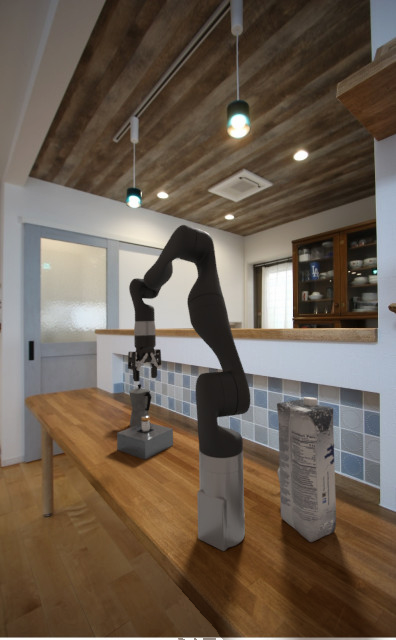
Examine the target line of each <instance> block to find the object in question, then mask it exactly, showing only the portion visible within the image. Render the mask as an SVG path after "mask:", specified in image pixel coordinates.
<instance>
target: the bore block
mask: <svg viewBox="0 0 396 640" xmlns="http://www.w3.org/2000/svg"><path fill="white" fill-rule="evenodd" d="M116 440H117V441H116V446H117V448H116V449H117V451H119V452H122V453H125V454H128V455H130V456H133V457H137V458H139V459H143V460H148V459H150V458H152V457H153V456H155V455H157V454H159V453H161V452H163V451H165V450H166V449H168V448H170V447H172V446H173V445H174V429H173V428H172V427H167V426H163V425H159V424H155V423H152V422H150V432H149V433H146V434H144V433H142V424H139V425H137V426H134V427H129V428H126V429H123V430H120V431H119V432H116Z"/></svg>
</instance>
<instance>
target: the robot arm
mask: <svg viewBox="0 0 396 640" xmlns="http://www.w3.org/2000/svg"><path fill="white" fill-rule="evenodd" d="M176 259H180V260H182V261H186V262H189V263H192V264H194V265H195V267H196V271H197V278H196V280H195V282H194V284H193V285H192V287H191V288H190V291H189V293H188V296H187V299H186V300H187V308H188V315H189V321H190V325H191V326H192V328H193V330H194V331H195V332H196V334H197V335H198V336H199V337H200V338H201V340H202V341H203V342H204V343H205V344H206V345H207V346H208V347H209V348H210V349H211V351H212V353H214V355H215V356H216V358H217V360H218V362H219V365H220V368H221V370H222V371H214V372H203V373H200V374H199V375H198V376H197V377H196V382H195V403H196V404H195V405H196V414H197V415H196V417H197V418H196V419H197V420H196V421H197V423H196V424H197V435H198V461H199V462H198V463H199V464H198V471H199V490H198V491H197V538H198V540H200V541H202V542H204V543H206V544H208V545H211V546H212V547H215V548H216V549H218V550H220V551H222V552H225V551H227V549H228V548H231V547H234V546H237V545H238V544H240V543H241V542H242V541H243V540H244V537H245V533H246V531H245V529H246V528H245V525H246V524H245V495H244V494H245V492H244V491H245V489H244V488H245V486H244V485H245V483H244V482H245V481H244V445H243V444H244V440H243V435H241V434H240V432H238V431H236V430H234V429H232V428H229V427H225V426H221V425H219V424H218V423H219V422H218V418H223V417H230V416H232V417H233V416H238V415H243V414H246V413H247V412H248V411H249V410H250V407H251V391H250V386H249V382H248V379H247V376H246V372H245V370H244V367H243V366H244V365H243V364H242V361H241V358H240V355H239V352H238V349H237V347H236V343H235V340H234V336H233V332H232V328H231V324H230V319H229V315H228V310H227V305H226V302H225V298H224V295H223V291H222V288H221V282H220V278H219V273H218V272H219V271H218V267H217V260H216V259H217V258H216V251H215V245H214V240H213V238H212V236H211V234H209V233H208V232H207V231H204V230H202V229H199V228H196V227H194V226H191V225H187V224H181V225H179V226H178V227H177V228H176V229H175V230H174V231H173V232H172V234H171V236H170V237H169V239H168V241H167V243H166V244H165V246H164V248H163V249H162V251H161V253H160V254H159V256H158V258H157V259H156V260H155V262H154V263H153V265H152V266H151V267H150V268H149V269H148V270H147V271H146V272H145V273H144V275H143V278H139V277H138V278H133V279H132V280H131V281H130V282H129V283H130V284H129V286H128V288H129V289H128V290H129V295H130V297H131V302H132V305H133V309H134V329H133V334H134V335H133V336H134V339H133V340H134V348H135V351H128V354H127V369H128V370H132V379H133V381H134V382H136V383H137V382H140V379H141V378H140V376H141V373H140V372H141V371H140V369H141V368H142V367H141V366H143V364H146V363H148V364H149V365H150V366H151V367H150V378H151V379H156V378H157V377H158V367H159V366H161V365H162V353H161V352H162V351H161V348H160V349H159V348H156V345H157V342H156V341H157V340H156V323H155V321H156V319H155V307H154V306H153V305H150V304H147V303H145V302H144V300H143V299H146V300H147V299H149V300H153V299H155V298H157V297H158V295H159V294H160V291H161V290H162V287H163V286H164V285H165V284H166V283H167V282H168V281H170V280H171V278H172V275H173V270H174V267H173V261H174V260H176Z"/></svg>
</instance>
